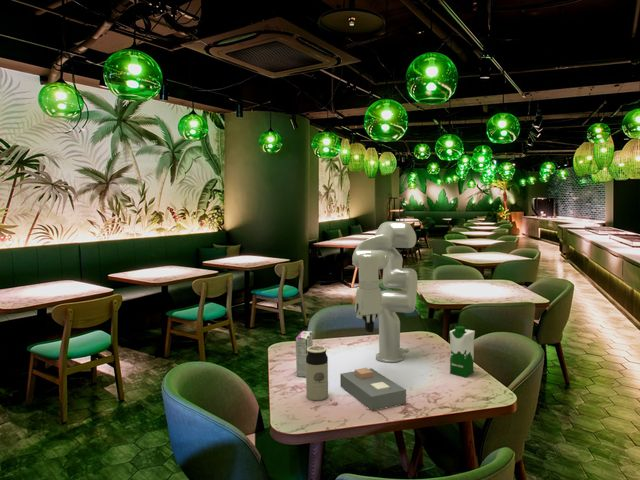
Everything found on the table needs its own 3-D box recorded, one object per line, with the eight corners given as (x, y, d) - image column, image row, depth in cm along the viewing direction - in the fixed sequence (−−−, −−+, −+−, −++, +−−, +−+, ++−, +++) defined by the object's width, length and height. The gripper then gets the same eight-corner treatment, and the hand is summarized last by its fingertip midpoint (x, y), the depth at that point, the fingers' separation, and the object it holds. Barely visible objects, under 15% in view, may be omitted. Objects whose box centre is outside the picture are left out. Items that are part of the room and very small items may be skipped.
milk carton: (447, 373, 188) (447, 326, 187) (457, 368, 194) (457, 322, 193) (467, 378, 182) (467, 330, 181) (476, 372, 188) (477, 325, 187)
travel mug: (307, 392, 170) (306, 345, 169) (328, 392, 170) (327, 345, 169) (305, 400, 162) (305, 351, 161) (327, 401, 162) (327, 351, 161)
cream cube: (382, 395, 165) (382, 381, 165) (389, 400, 161) (389, 386, 160) (370, 397, 163) (370, 384, 163) (377, 402, 159) (377, 388, 158)
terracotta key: (366, 380, 176) (366, 367, 176) (372, 384, 171) (372, 371, 171) (354, 382, 174) (354, 369, 174) (361, 386, 169) (361, 373, 169)
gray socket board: (371, 380, 181) (371, 368, 181) (406, 403, 159) (406, 389, 159) (340, 386, 176) (340, 373, 175) (371, 411, 154) (371, 396, 153)
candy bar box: (302, 367, 197) (301, 330, 196) (313, 368, 196) (312, 331, 195) (295, 376, 186) (295, 337, 185) (307, 377, 185) (307, 338, 184)
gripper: (380, 281, 180) (381, 326, 182) (347, 285, 174) (348, 331, 176) (390, 284, 173) (391, 331, 175) (356, 289, 167) (357, 337, 169)
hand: (369, 331), depth 175 cm, fingers closed
